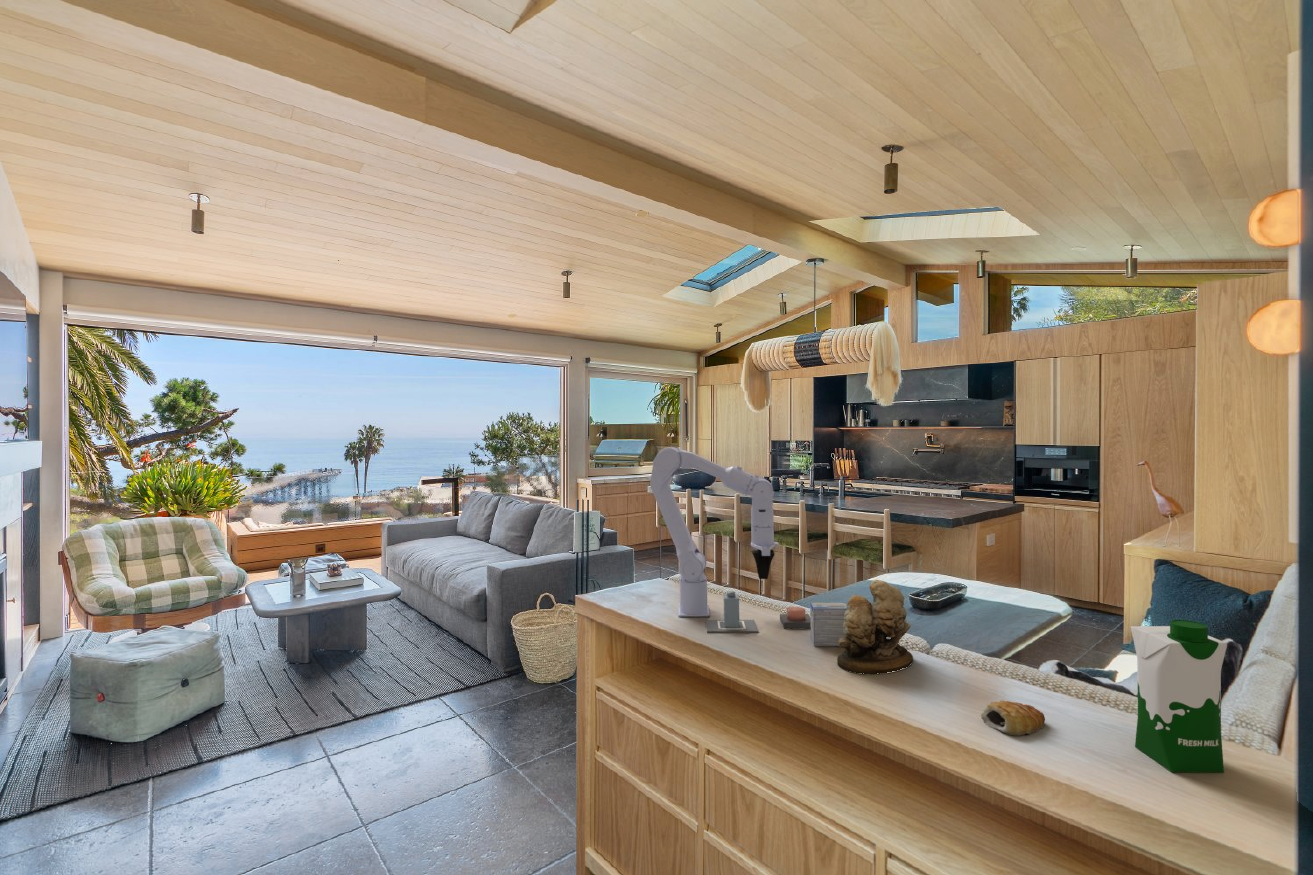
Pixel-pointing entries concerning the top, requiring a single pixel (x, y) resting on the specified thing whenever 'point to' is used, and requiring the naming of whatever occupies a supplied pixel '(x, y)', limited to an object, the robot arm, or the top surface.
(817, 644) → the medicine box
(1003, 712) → the pastry
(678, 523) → the robot arm
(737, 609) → the grey rectangular block
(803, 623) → the button base
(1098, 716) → the top surface
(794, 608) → the button
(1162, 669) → the milk carton
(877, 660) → the owl figurine
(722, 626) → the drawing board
